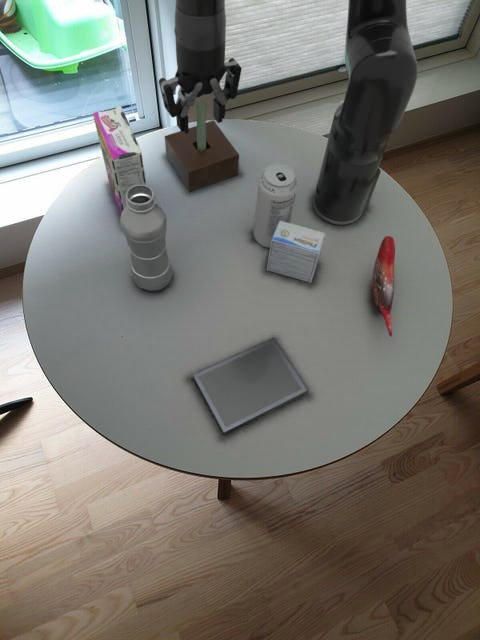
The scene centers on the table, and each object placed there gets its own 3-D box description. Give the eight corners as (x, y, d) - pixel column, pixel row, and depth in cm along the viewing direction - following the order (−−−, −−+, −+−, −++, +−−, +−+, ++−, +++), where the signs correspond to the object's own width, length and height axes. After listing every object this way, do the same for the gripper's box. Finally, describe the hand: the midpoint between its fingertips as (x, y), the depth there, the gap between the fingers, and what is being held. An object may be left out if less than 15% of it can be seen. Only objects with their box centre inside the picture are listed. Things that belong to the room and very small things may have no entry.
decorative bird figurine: (381, 265, 94) (398, 227, 85) (389, 356, 85) (409, 324, 76) (364, 263, 94) (380, 226, 85) (370, 355, 85) (389, 323, 76)
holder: (213, 140, 107) (213, 120, 103) (237, 174, 103) (239, 154, 99) (166, 156, 105) (164, 135, 100) (189, 192, 100) (188, 172, 96)
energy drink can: (276, 219, 98) (287, 155, 85) (293, 243, 95) (306, 181, 82) (247, 230, 96) (253, 166, 83) (262, 254, 94) (271, 193, 81)
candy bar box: (107, 185, 100) (91, 111, 86) (133, 179, 101) (122, 104, 87) (125, 230, 95) (110, 158, 81) (152, 222, 96) (143, 151, 82)
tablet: (272, 341, 85) (273, 337, 84) (306, 393, 81) (308, 390, 80) (192, 378, 81) (192, 374, 80) (223, 435, 77) (223, 432, 76)
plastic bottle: (167, 299, 88) (157, 217, 71) (127, 291, 89) (107, 207, 71) (177, 268, 91) (171, 182, 74) (138, 260, 92) (123, 172, 75)
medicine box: (317, 264, 93) (326, 232, 86) (310, 284, 91) (319, 253, 84) (273, 251, 94) (278, 218, 87) (265, 271, 92) (271, 239, 85)
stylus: (203, 161, 104) (203, 99, 92) (207, 167, 104) (207, 105, 92) (196, 164, 104) (194, 102, 92) (199, 169, 103) (199, 107, 91)
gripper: (166, 60, 78) (173, 151, 92) (254, 35, 82) (247, 126, 96) (145, 31, 81) (154, 123, 95) (231, 9, 85) (227, 101, 99)
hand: (201, 124), depth 96 cm, fingers open, 6 cm apart
